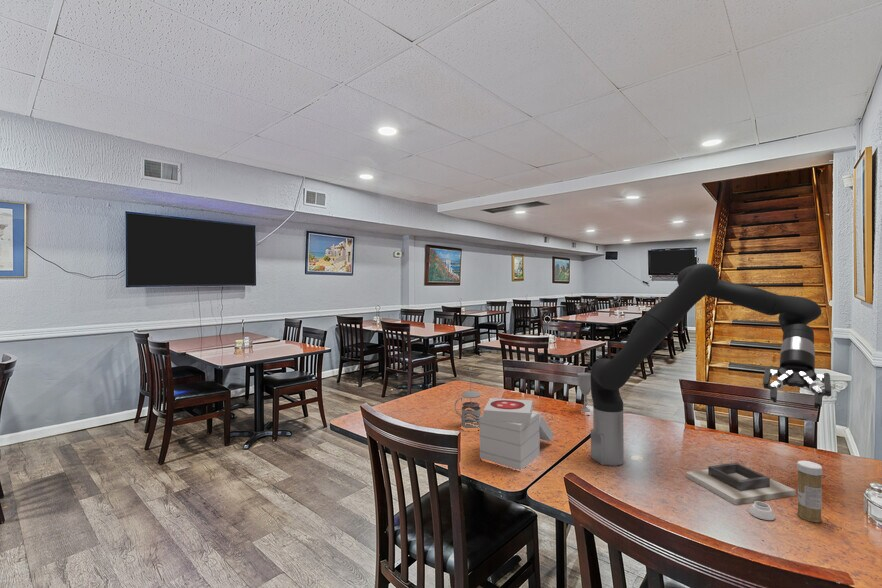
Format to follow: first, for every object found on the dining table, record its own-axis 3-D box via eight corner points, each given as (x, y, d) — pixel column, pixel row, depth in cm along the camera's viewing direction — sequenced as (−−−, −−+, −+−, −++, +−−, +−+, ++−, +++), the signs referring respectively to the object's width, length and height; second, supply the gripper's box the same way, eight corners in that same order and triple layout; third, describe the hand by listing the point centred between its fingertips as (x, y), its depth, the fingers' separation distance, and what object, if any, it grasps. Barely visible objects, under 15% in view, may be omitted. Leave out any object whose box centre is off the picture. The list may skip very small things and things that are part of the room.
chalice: (594, 416, 177) (594, 376, 176) (578, 416, 178) (578, 375, 178) (592, 411, 184) (591, 372, 184) (576, 411, 185) (576, 372, 185)
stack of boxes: (558, 444, 146) (558, 395, 146) (523, 476, 122) (522, 417, 122) (511, 434, 157) (510, 388, 157) (470, 461, 133) (469, 407, 133)
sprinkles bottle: (795, 510, 102) (795, 458, 101) (820, 516, 99) (820, 462, 99) (798, 519, 98) (798, 464, 98) (824, 525, 95) (824, 469, 95)
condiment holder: (735, 505, 105) (735, 489, 105) (685, 476, 120) (685, 463, 120) (795, 495, 109) (795, 480, 109) (740, 469, 125) (740, 456, 125)
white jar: (746, 509, 103) (753, 519, 98) (746, 497, 103) (753, 507, 98) (770, 512, 101) (778, 523, 97) (770, 501, 101) (778, 511, 97)
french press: (484, 431, 160) (483, 369, 160) (455, 432, 160) (454, 369, 160) (482, 423, 170) (481, 364, 169) (454, 423, 170) (454, 365, 170)
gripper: (764, 346, 120) (760, 391, 112) (831, 350, 110) (831, 400, 102) (767, 361, 124) (762, 406, 116) (831, 366, 114) (831, 416, 106)
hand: (794, 403), depth 109 cm, fingers open, 8 cm apart
